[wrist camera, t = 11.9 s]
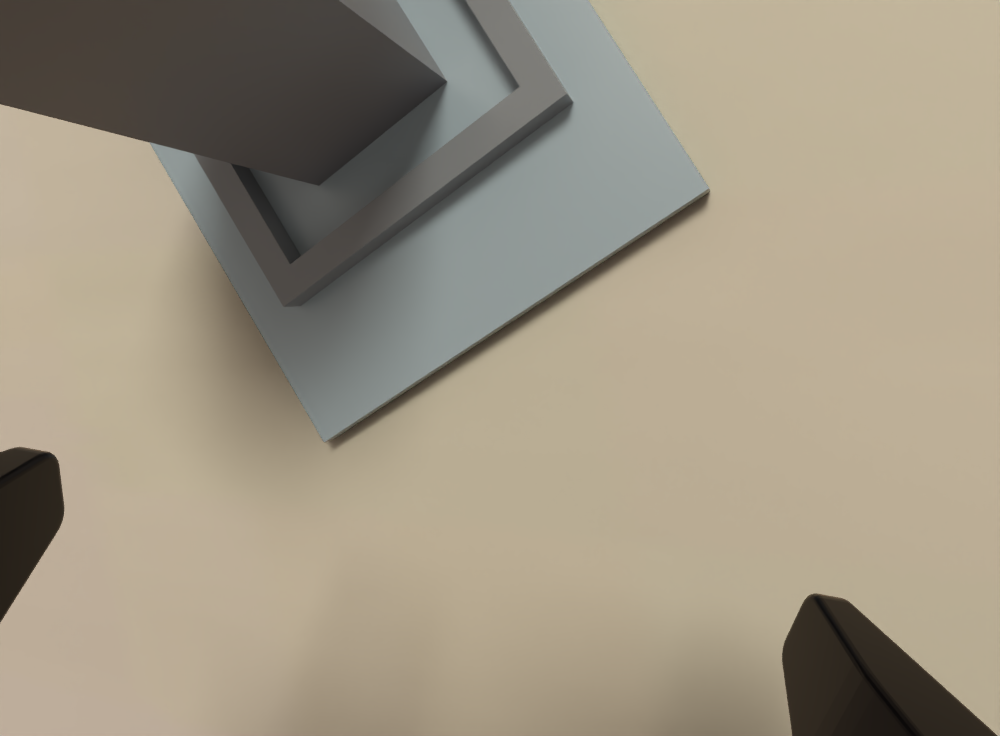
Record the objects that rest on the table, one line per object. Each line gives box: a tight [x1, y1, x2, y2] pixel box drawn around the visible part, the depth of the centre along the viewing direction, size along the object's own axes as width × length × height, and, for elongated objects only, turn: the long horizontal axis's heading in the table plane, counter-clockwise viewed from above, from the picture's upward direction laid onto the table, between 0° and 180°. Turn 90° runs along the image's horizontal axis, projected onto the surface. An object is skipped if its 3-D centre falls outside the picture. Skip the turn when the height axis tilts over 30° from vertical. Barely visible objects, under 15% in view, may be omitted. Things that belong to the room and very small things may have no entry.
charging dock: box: [150, 0, 710, 442], centre depth 19 cm, size 16×12×2 cm
